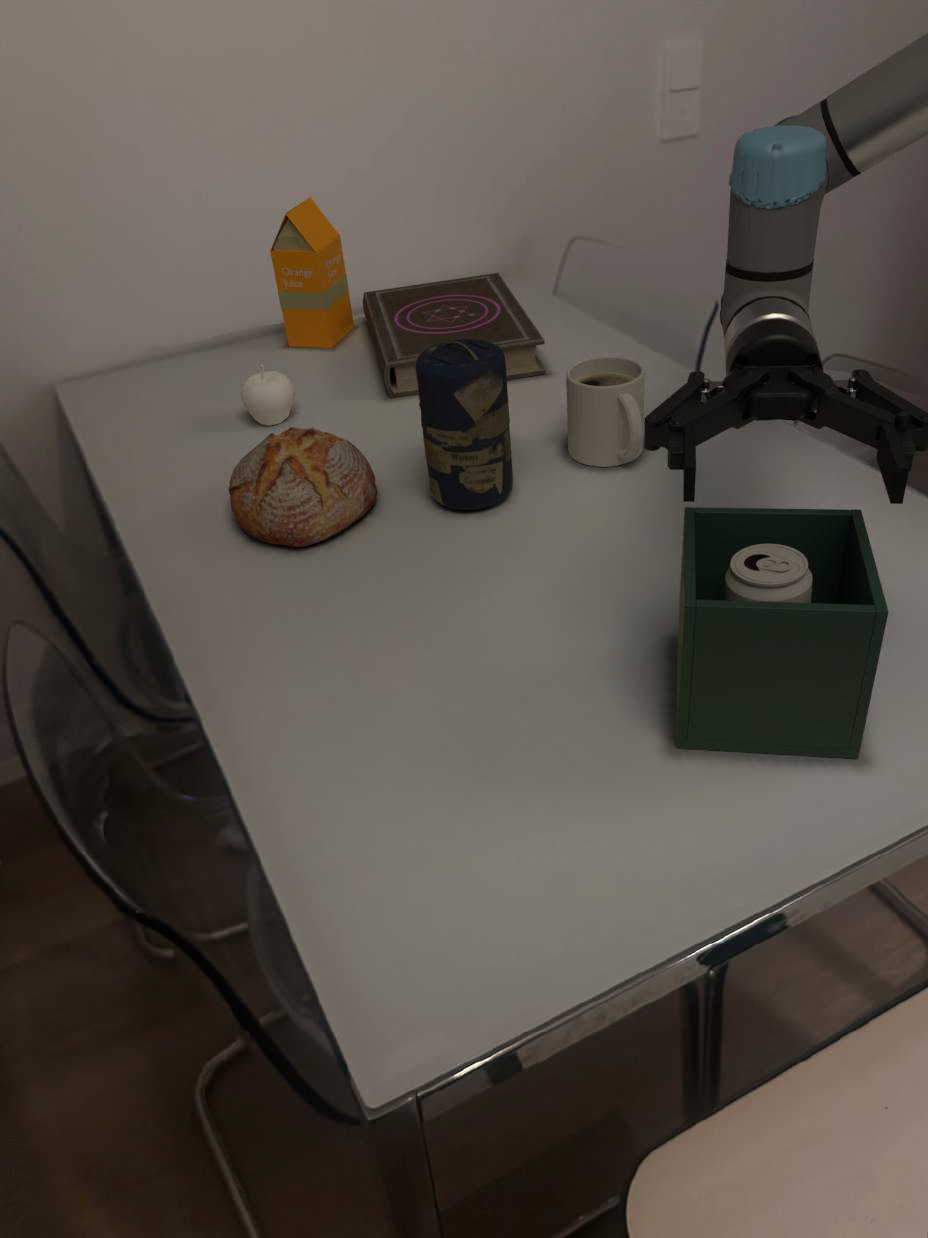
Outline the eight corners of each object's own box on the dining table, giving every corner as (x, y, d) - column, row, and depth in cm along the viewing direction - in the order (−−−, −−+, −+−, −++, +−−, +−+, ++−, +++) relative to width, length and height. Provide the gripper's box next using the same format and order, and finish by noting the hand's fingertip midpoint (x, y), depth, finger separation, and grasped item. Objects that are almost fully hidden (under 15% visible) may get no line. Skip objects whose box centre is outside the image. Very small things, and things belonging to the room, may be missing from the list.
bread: (239, 573, 107) (211, 492, 101) (239, 485, 123) (215, 411, 117) (389, 539, 108) (370, 457, 102) (370, 456, 123) (353, 381, 117)
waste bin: (837, 648, 87) (861, 509, 79) (858, 759, 77) (888, 611, 68) (677, 642, 90) (684, 506, 81) (676, 748, 79) (684, 605, 71)
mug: (575, 431, 125) (574, 354, 119) (652, 434, 122) (655, 356, 116) (558, 473, 116) (555, 393, 110) (640, 478, 114) (642, 396, 108)
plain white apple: (250, 435, 132) (237, 378, 127) (244, 414, 137) (231, 358, 132) (302, 424, 133) (291, 367, 128) (294, 404, 138) (283, 348, 134)
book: (545, 373, 139) (544, 339, 136) (387, 398, 137) (382, 364, 134) (500, 303, 164) (498, 272, 161) (365, 323, 162) (360, 292, 159)
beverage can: (742, 653, 86) (744, 533, 79) (817, 672, 83) (825, 549, 76) (711, 696, 82) (710, 574, 75) (788, 719, 79) (795, 593, 72)
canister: (449, 525, 109) (431, 368, 99) (418, 488, 116) (399, 338, 106) (528, 501, 112) (520, 346, 101) (493, 467, 119) (482, 318, 108)
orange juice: (355, 327, 161) (334, 195, 149) (333, 348, 154) (309, 212, 142) (311, 325, 163) (287, 196, 151) (287, 346, 156) (260, 213, 144)
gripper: (921, 400, 84) (980, 535, 68) (621, 403, 89) (606, 529, 72) (938, 312, 80) (1005, 434, 63) (621, 320, 84) (606, 435, 68)
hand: (792, 485), depth 68 cm, fingers open, 13 cm apart
